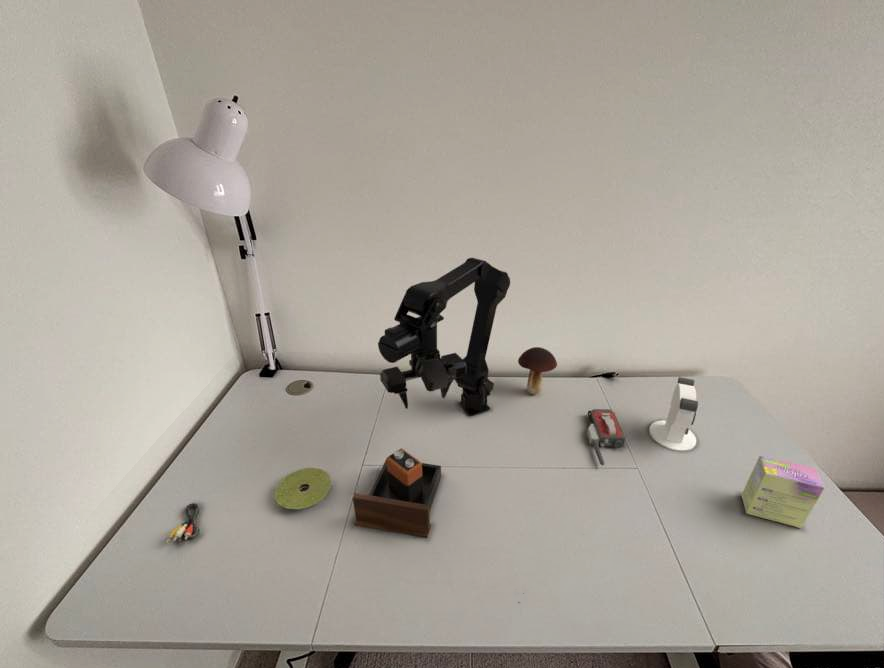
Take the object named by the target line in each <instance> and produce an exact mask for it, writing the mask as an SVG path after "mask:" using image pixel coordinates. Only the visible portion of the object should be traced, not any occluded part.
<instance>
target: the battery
mask: <svg viewBox="0 0 884 668" xmlns="http://www.w3.org/2000/svg"><path fill="white" fill-rule="evenodd" d="M385 461H387V473H388V484H389V489H390V490H391V491H393V492H394V493H395V494H396V495H397V496H398V497H400V498H401V499H402V500H403V501H406V502H413V501H414V500H416V499H417V498H418V497H420V496H421V495H422V494H423V480H422V463H423V462H421V461H419V460H418V459H417V458H415V456H414V455H411V453H409V452H408V451H406V450H405V449H403V448H399V449H396V450H394V451H393V453H391V454H390V455H388V456H386V459H385Z"/></svg>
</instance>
